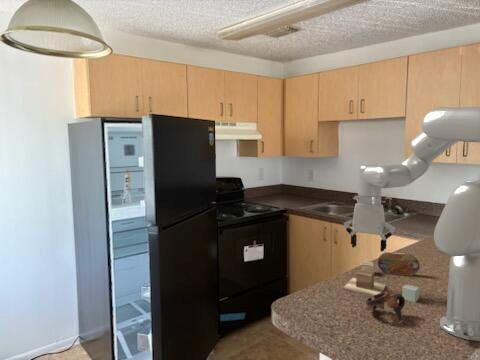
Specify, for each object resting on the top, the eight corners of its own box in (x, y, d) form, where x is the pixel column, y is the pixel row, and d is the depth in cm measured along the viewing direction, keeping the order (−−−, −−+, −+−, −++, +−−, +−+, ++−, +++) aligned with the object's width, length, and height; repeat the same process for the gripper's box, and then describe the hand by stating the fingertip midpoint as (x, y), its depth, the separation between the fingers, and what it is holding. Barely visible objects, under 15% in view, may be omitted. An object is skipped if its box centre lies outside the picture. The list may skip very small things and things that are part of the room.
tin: (377, 273, 146) (378, 252, 145) (377, 270, 149) (377, 250, 148) (419, 277, 141) (420, 255, 140) (417, 274, 144) (418, 253, 143)
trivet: (378, 297, 122) (378, 295, 122) (342, 289, 129) (342, 287, 129) (386, 285, 132) (386, 284, 132) (352, 279, 139) (352, 277, 139)
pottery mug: (389, 330, 102) (375, 301, 103) (369, 330, 110) (356, 303, 112) (419, 311, 106) (404, 284, 108) (397, 312, 115) (384, 287, 117)
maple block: (373, 275, 143) (373, 265, 142) (362, 274, 144) (362, 264, 144) (372, 272, 147) (373, 262, 146) (362, 271, 148) (362, 261, 147)
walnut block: (370, 289, 127) (371, 275, 126) (356, 286, 130) (356, 273, 129) (374, 285, 131) (374, 271, 131) (359, 282, 134) (360, 269, 133)
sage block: (414, 302, 119) (415, 290, 118) (401, 298, 121) (402, 287, 121) (418, 298, 121) (419, 287, 121) (406, 295, 124) (406, 283, 124)
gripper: (341, 199, 129) (340, 247, 130) (393, 203, 119) (392, 255, 121) (347, 197, 135) (346, 242, 136) (398, 200, 126) (396, 249, 127)
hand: (368, 248), depth 129 cm, fingers open, 9 cm apart
